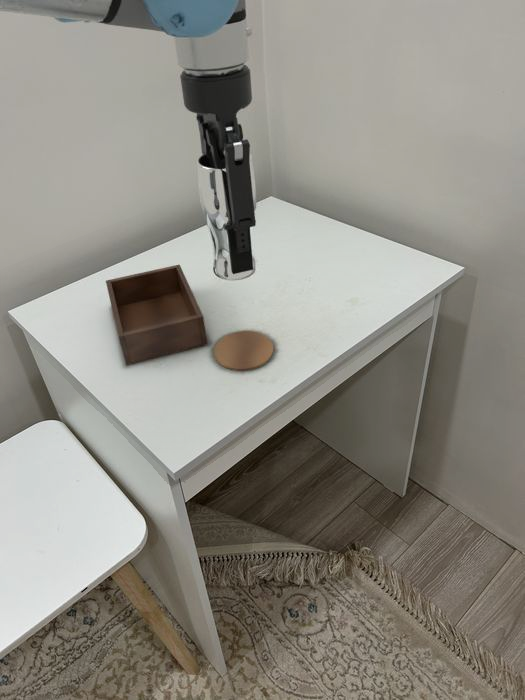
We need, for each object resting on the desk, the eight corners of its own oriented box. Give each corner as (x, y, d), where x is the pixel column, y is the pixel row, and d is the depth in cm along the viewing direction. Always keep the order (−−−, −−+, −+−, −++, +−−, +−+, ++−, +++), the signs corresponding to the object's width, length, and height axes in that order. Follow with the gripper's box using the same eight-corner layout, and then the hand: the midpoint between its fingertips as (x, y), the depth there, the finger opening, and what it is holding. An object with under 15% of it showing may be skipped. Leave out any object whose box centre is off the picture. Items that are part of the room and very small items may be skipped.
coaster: (223, 377, 78) (223, 375, 78) (207, 341, 85) (207, 339, 85) (282, 361, 80) (281, 359, 80) (262, 327, 87) (262, 325, 87)
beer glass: (202, 265, 75) (185, 156, 65) (247, 251, 77) (237, 143, 68) (223, 288, 70) (209, 174, 60) (270, 272, 72) (264, 160, 63)
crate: (126, 365, 82) (118, 337, 78) (113, 307, 94) (105, 280, 90) (207, 344, 84) (203, 316, 81) (184, 290, 97) (179, 264, 93)
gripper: (279, 81, 51) (286, 287, 66) (223, 47, 66) (239, 222, 80) (202, 93, 50) (227, 302, 64) (162, 55, 64) (190, 232, 79)
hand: (234, 257), depth 72 cm, fingers closed on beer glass, 6 cm apart
